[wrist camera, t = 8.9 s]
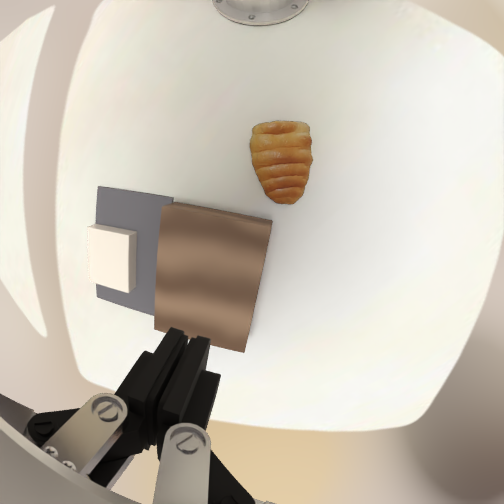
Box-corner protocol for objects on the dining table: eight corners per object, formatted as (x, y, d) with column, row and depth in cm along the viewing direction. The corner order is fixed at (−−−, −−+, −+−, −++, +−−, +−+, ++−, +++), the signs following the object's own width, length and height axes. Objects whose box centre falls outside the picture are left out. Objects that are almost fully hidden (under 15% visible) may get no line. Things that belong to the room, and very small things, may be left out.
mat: (99, 186, 33) (97, 186, 33) (173, 197, 32) (172, 197, 32) (97, 296, 38) (96, 297, 38) (163, 317, 37) (162, 318, 37)
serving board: (175, 202, 32) (162, 206, 29) (272, 220, 32) (271, 227, 28) (165, 315, 37) (154, 329, 33) (248, 335, 37) (244, 352, 33)
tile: (128, 235, 32) (137, 231, 34) (87, 227, 32) (96, 223, 34) (128, 293, 34) (135, 286, 36) (89, 281, 34) (97, 275, 36)
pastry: (314, 201, 31) (318, 205, 27) (256, 204, 32) (252, 209, 28) (307, 121, 28) (311, 115, 25) (249, 125, 29) (244, 119, 26)
